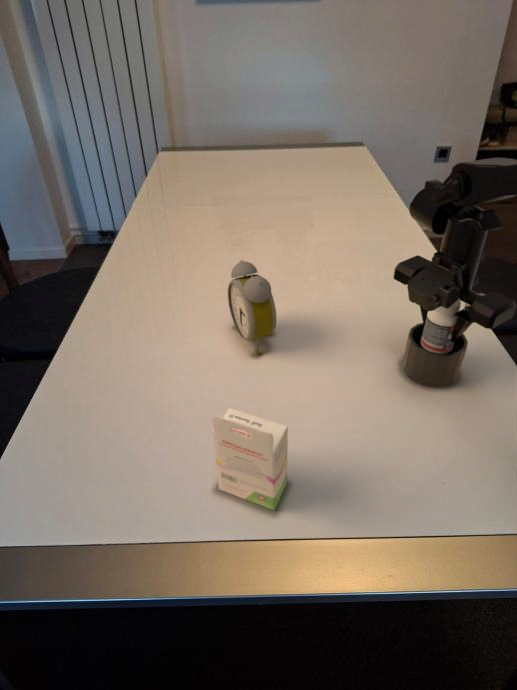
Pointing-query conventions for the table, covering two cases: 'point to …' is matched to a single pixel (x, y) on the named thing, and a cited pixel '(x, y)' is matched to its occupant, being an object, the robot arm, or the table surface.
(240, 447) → the white medicine box
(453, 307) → the pill bottle
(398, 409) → the table surface
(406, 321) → the table surface
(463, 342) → the pen holder
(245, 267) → the alarm clock
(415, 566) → the table surface
